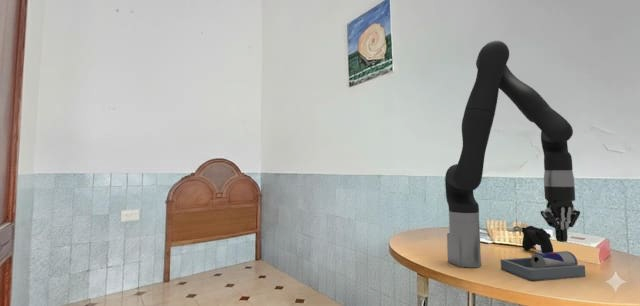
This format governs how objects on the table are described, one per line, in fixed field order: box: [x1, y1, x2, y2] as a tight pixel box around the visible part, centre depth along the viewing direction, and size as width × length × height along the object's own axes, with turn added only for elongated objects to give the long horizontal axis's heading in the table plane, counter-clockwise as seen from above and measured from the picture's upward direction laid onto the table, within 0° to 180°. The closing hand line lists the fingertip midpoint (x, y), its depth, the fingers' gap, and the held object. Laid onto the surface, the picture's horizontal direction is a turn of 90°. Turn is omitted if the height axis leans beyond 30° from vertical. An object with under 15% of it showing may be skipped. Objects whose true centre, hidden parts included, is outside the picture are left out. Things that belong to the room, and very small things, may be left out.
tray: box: [500, 256, 587, 282], centre depth 93 cm, size 18×11×3 cm, turn 102°
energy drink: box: [531, 250, 579, 269], centre depth 93 cm, size 5×5×12 cm
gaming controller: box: [521, 225, 554, 253], centre depth 114 cm, size 14×6×10 cm, turn 179°
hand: (561, 241), depth 95 cm, fingers closed
